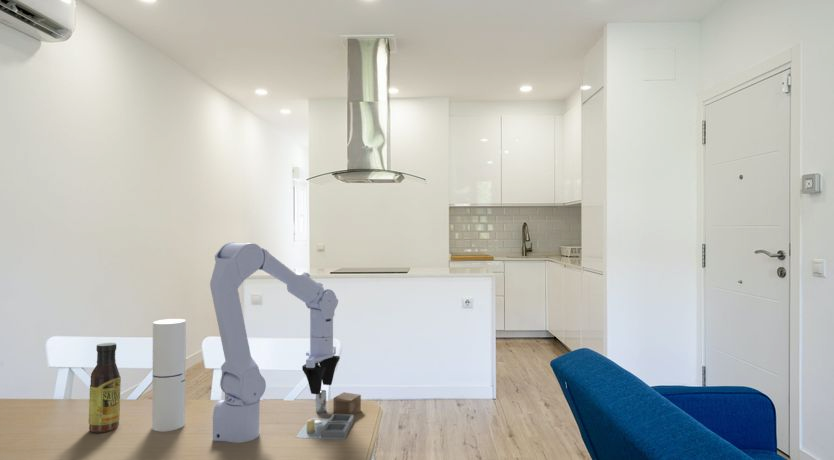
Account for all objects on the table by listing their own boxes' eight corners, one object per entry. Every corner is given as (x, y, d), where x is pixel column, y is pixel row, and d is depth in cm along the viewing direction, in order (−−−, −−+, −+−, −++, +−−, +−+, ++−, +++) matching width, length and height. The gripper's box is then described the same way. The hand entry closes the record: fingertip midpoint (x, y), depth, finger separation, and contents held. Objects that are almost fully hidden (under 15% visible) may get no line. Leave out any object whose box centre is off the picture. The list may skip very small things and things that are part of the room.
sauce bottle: (105, 435, 119) (105, 348, 119) (81, 432, 120) (82, 346, 120) (126, 424, 125) (127, 342, 125) (104, 422, 127) (104, 340, 127)
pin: (314, 416, 131) (314, 392, 131) (317, 413, 134) (317, 389, 134) (324, 417, 131) (324, 392, 131) (327, 413, 133) (327, 390, 134)
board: (295, 442, 115) (295, 426, 116) (310, 422, 127) (310, 407, 127) (344, 443, 115) (344, 427, 115) (354, 423, 127) (354, 409, 127)
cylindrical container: (145, 428, 123) (146, 322, 123) (172, 418, 130) (172, 317, 130) (165, 433, 120) (166, 325, 120) (191, 423, 126) (192, 320, 126)
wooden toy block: (350, 420, 129) (350, 400, 129) (333, 417, 130) (333, 397, 130) (360, 414, 133) (360, 394, 133) (343, 411, 135) (343, 392, 135)
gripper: (318, 329, 140) (318, 379, 140) (294, 340, 126) (294, 396, 126) (343, 330, 139) (343, 381, 139) (321, 342, 125) (321, 398, 125)
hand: (321, 389), depth 132 cm, fingers open, 7 cm apart
